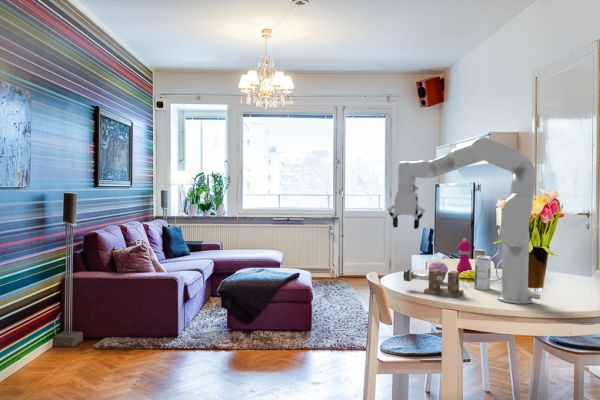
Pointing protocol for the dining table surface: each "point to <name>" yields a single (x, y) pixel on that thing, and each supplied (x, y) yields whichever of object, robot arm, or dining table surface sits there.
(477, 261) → the silver can
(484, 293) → the dining table surface
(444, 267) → the cupcake
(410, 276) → the shaft
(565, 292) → the dining table surface
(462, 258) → the pepper mill
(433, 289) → the bracket
